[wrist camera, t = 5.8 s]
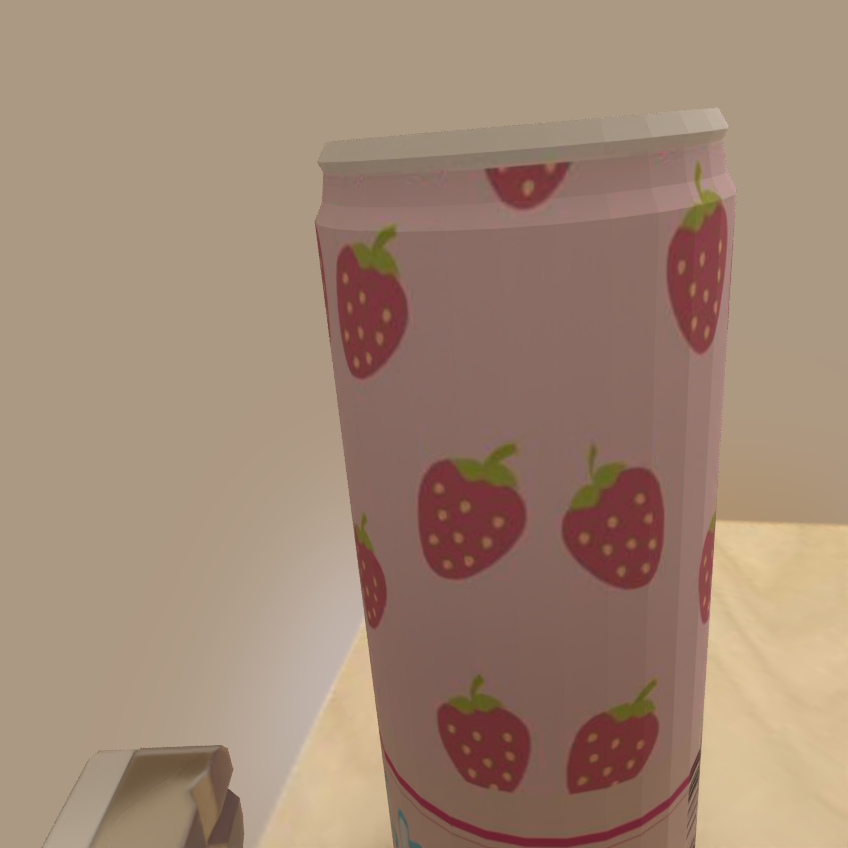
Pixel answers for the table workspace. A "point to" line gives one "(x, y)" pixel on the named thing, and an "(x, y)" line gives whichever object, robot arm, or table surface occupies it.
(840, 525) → the table surface
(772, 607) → the table surface
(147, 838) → the robot arm
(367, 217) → the beverage can
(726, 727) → the table surface
